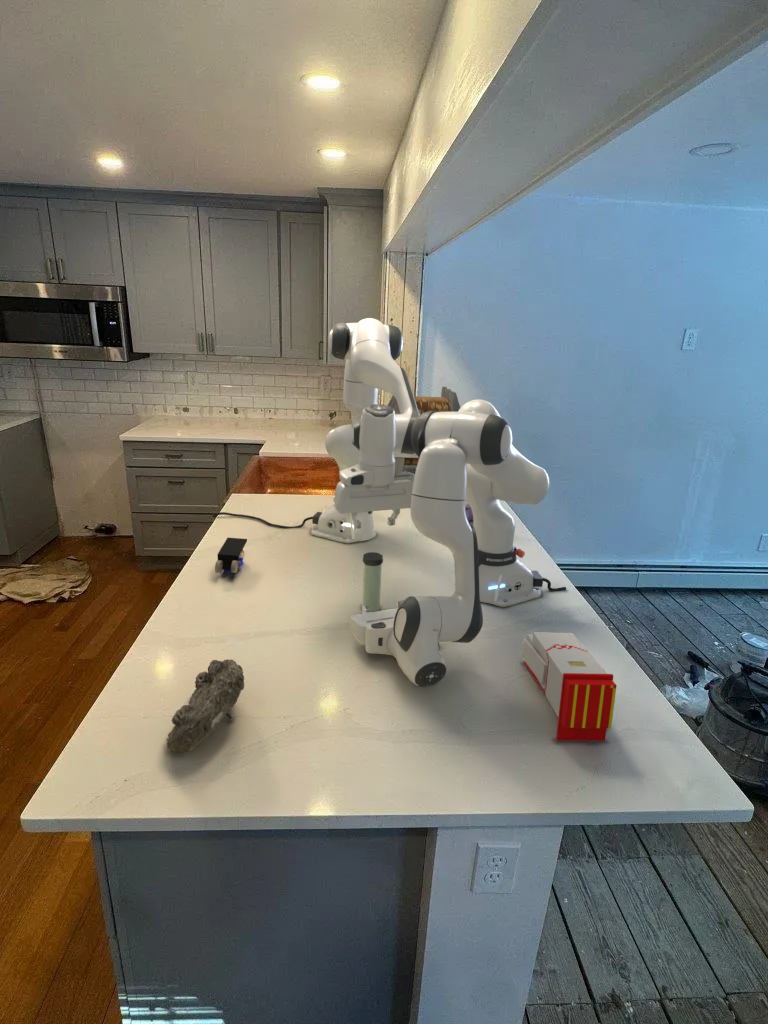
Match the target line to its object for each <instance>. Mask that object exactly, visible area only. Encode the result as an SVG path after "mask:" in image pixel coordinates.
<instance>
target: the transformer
mask: <svg viewBox="0 0 768 1024" xmlns="http://www.w3.org/2000/svg"><path fill="white" fill-rule="evenodd" d="M440 393H441V394H440V396H415V395H414V399H415V402H416V405H417V408H418V411H419V414H421V413H424V412H429V411H437V412H458V411H459V409H460V408H461V405H460V402H459V398H458V395H457V392H455V391H453V390H452V389H451V388H447V386H442V387H441V392H440ZM386 406H389V407H391V408H392V409H393V410H394V411H395V414H400V410H399V407H398V403H397V400H396V398H395V397H394V396H393V395H391V398H390V400H389V402H388V404H387V405H386ZM394 458H395V472H404V469H405V466H406V467H407V466H411V467H412V466H413V467H415V466H416V467H417V464H418V461H419V457H418V456H417V455H416V453H414V454H404V453H394Z"/></svg>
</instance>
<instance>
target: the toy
mask: <svg viewBox="0 0 768 1024" xmlns="http://www.w3.org/2000/svg"><path fill="white" fill-rule="evenodd" d="M522 639H523V640H522V645H521V653H520V657H521V658H522V659H523V664H524V665H525V667H526V668H527V670H528V672H529V673H530V675H531V676H532V677H533V679H534V680H535V682H536V683H537V685H538V686H539V688H540V690H541V691H542V692H543V693H544V694H545V697H546V698H547V701H548V702H549V704H550V705H551V708H552V709H553V710H554V712H555V714H556V716H557V718H558V719H557V728H556V737H555V740H556V741H562V742H563V741H566V742H567V741H570V742H571V741H572V742H574V741H575V742H606V737H607V732H608V731H607V730H608V729H612V726H613V725H612V723H613V718H614V717H613V716H614V710H615V701H616V693H617V686H618V685H617V684H616V683H615V681H614V674H613V673H607V671H605V670H604V668H602V666H601V665H600V664H599V663H598V661H597V660H596V659H595V658H594V657H593V656H592V654H590V652H589V651H588V650H587V648H586V647H585V646H584V645H583V644H582V643H581V642H580V640H579V639H578V638H577V637H576V636H575V634H574V633H573V632H541V631H540V632H537V631H536V632H535V631H534V632H533V633H527V635H526V638H522Z"/></svg>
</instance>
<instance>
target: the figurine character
mask: <svg viewBox="0 0 768 1024" xmlns="http://www.w3.org/2000/svg"><path fill="white" fill-rule="evenodd" d="M247 542H248V538H240V537H226V539H225V541H224V543H223V544H222V546H221V547H220V549H219V551H218V552H217V560H216V562H215V564H214V572H215V573H221V577H222V578H224V577H225V576H226V574H227V573H230V574H231V573H232V574H231V578H234V577H235V575H236V573H237V572H239V571H240V567H242V566H243V565H244V564H245V562H244V558H245V551H244V547H245V546H246V544H247Z"/></svg>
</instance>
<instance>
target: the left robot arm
mask: <svg viewBox="0 0 768 1024" xmlns="http://www.w3.org/2000/svg"><path fill="white" fill-rule="evenodd" d="M327 340H328V341H327V342H328V343H327V344H328V348H329V351H330V355H332V356H333V358H334V359H335V358H336V359H338V360H341V361H344V360H345V365H344V373H343V391H342V403H343V406H344V407H345V408H346V409H347V410H348V411H349V412H350V414H351V419H352V423H349V424H344V425H339V426H336V427H335V428H333V429H331V430H330V431H328V432H327V433H326V436H325V439H324V446H325V450H326V452H327V454H328V455H329V456H330V457H331V458H332V459H333V460H334V462H336V465H337V468H338V470H339V472H338V477H339V482H337V484H336V486H335V492H334V497H333V505H331V506H329V507H328V508H326V509H325V510H323V512H322V511H317V512H316V513H315V514H314V515H313V516H309V517H306V518H304V519H303V520H302V523H301V524H299V525H295V526H287V525H282V524H281V525H280V524H277V523H271V522H268V521H267V520H265V519H263V518H260V517H257V516H253V515H249V514H238V513H231V512H227V511H225V512H224V511H221V512H217V513H215V514H214V515H212V518H216V517H218V516H222V515H224V516H231V517H238V518H246V519H251V520H252V519H253V520H257V521H259V522H262V523H264V524H266V525H267V526H270V527H274V528H279V529H300V528H302V527H304V526H305V524H306V522H307V521H310V520H312V524H313V526H312V528H311V530H310V533H311V536H315V537H319V538H323V539H326V540H330V541H336V542H339V543H343V544H352V543H357V542H365V541H368V540H372V539H373V538H375V537H376V535H377V532H376V528H375V523H374V513H373V512H380V511H392V513H391V516H387V525H388V527H391V526H395V525H396V520H397V518H398V516H399V515H400V514H401V510H404V509H411V497H412V489H413V482H414V477H415V473H412V472H411V471H407V470H406V471H403V472H395V458H394V453H404V454H414V453H415V451H414V450H413V447H412V444H411V430H412V426H413V423H414V421H415V420H416V418H417V417H418V416H419V415H420V414H419V411H418V408H417V405H416V402H415V399H414V396H415V395H414V392H413V389H412V386H411V383H410V380H409V378H408V377H409V376H408V374H407V372H406V370H405V369H404V368H403V367H402V366H400V365H399V364H397V362H396V360H397V359H399V357H400V356H401V354H402V351H403V348H404V347H403V346H404V338H403V334H402V330H400V327H398V326H395V325H394V324H393V325H392V324H383V323H382V322H381V320H379V319H376V318H372V317H366V318H363V319H361V320H359V321H358V322H347V323H346V322H345V321H344V322H337V323H334V325H332V326H331V330H330V331H329V334H328V337H327ZM379 390H381V391H383V392H386V393H388V394H390V395H391V396H394V397H395V398H396V400H397V403H398V407H399V410H400V414H395V411H394V410H393V409H392V408H391V407H389V406H387V405H386V404H380V403H379V400H378V399H379Z"/></svg>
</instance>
